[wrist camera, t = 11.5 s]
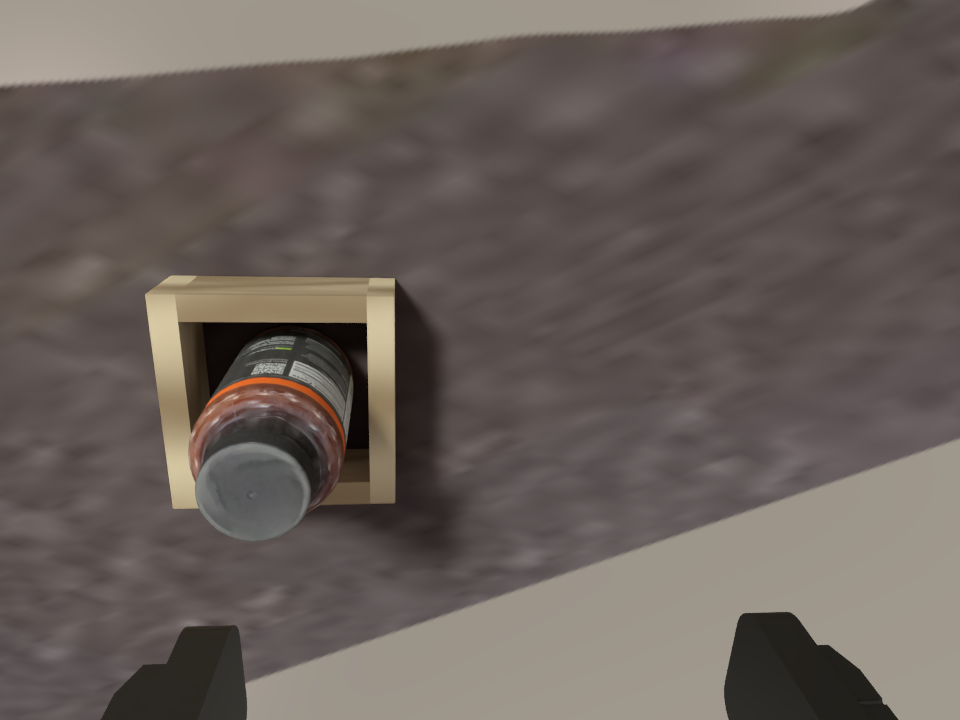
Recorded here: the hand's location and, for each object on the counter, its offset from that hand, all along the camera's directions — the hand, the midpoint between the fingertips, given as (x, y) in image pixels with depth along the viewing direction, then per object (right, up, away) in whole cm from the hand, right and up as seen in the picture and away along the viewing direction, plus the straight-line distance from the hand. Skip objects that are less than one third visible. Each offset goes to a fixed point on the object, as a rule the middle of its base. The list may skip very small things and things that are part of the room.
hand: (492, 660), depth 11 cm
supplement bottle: (-9, +4, +24) cm, 26 cm away
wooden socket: (-10, +4, +24) cm, 26 cm away
